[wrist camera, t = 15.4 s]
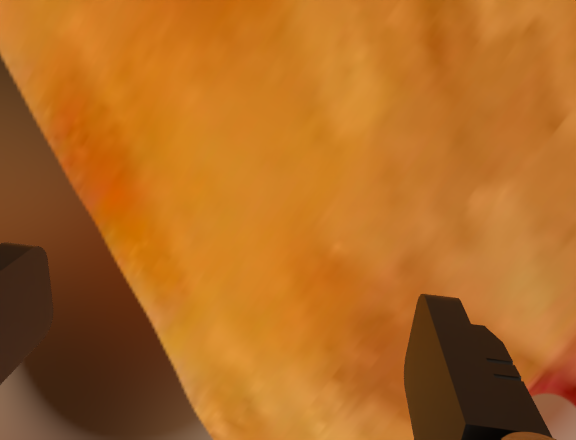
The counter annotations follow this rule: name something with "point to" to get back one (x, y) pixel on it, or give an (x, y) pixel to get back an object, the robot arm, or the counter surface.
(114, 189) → the counter surface
